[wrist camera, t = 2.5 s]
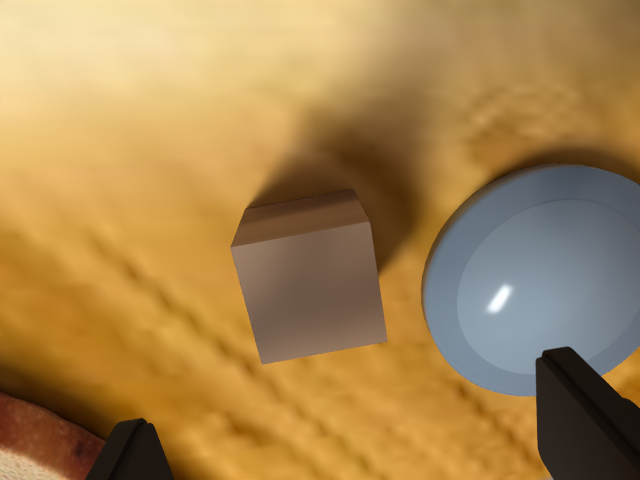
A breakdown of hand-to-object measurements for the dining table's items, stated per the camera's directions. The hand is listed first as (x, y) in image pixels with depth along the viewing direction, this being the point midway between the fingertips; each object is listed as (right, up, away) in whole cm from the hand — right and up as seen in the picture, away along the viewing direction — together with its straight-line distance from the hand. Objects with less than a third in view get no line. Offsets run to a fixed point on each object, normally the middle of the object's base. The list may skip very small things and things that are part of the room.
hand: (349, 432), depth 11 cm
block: (-1, +4, +10) cm, 11 cm away
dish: (+10, +3, +12) cm, 16 cm away
